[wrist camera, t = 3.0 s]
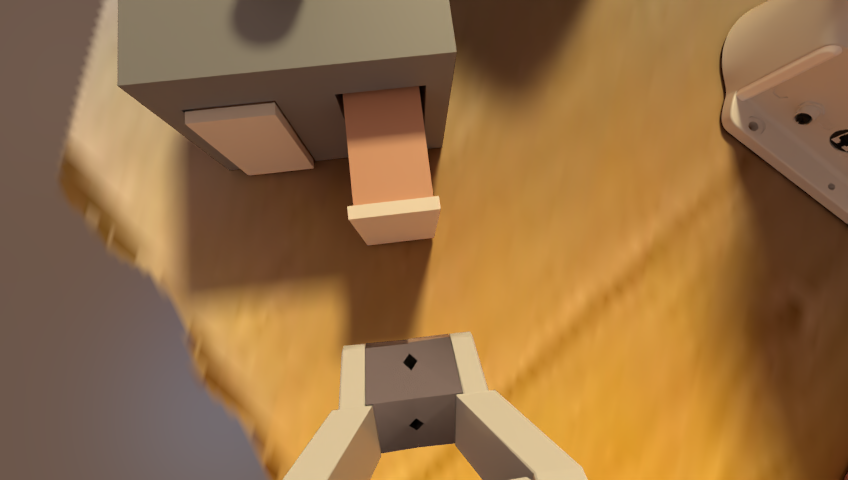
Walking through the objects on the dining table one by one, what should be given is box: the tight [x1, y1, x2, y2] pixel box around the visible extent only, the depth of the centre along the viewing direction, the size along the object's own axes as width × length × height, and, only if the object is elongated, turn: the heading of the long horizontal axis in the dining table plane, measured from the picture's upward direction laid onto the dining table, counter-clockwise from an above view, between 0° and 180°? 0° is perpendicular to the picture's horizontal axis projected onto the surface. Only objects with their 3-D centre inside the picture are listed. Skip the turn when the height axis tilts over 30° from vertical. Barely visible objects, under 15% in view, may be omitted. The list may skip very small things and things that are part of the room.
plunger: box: [343, 86, 441, 245], centre depth 29 cm, size 12×5×9 cm, turn 7°
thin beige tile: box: [185, 101, 314, 175], centre depth 30 cm, size 12×5×9 cm, turn 7°
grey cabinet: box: [117, 0, 457, 170], centre depth 29 cm, size 13×18×13 cm
